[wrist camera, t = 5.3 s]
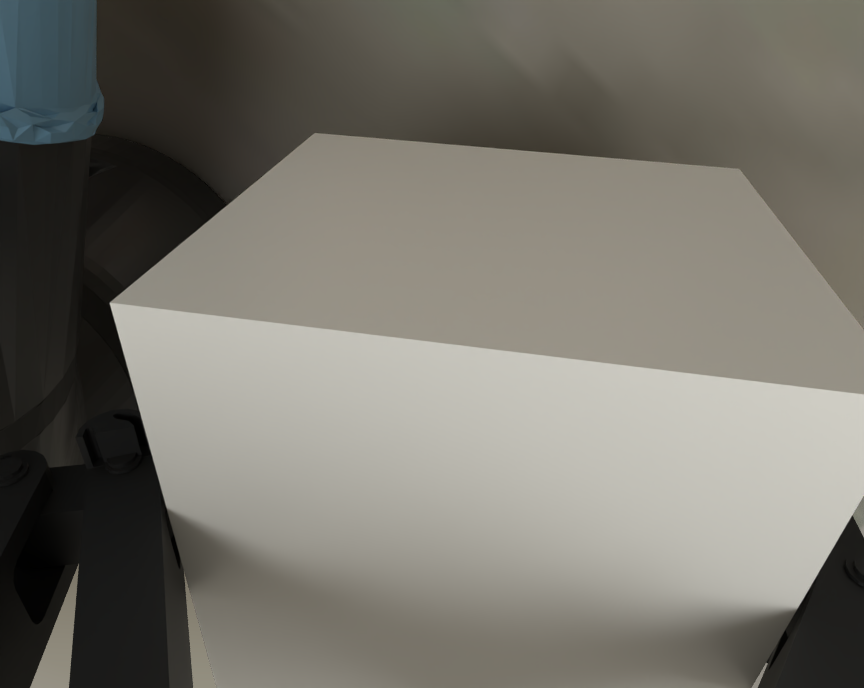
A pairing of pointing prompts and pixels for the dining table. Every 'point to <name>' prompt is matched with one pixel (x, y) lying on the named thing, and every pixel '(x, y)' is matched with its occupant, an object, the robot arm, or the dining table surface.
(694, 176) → the plain off-white cube
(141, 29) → the dining table surface
